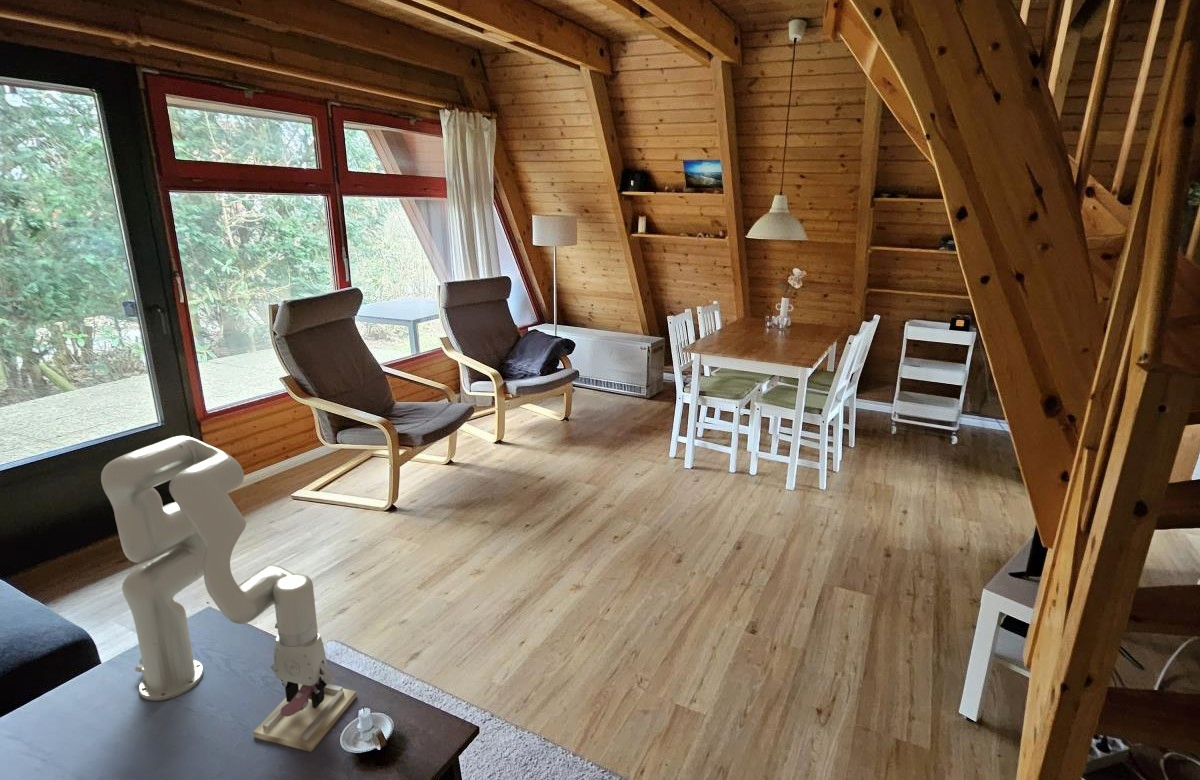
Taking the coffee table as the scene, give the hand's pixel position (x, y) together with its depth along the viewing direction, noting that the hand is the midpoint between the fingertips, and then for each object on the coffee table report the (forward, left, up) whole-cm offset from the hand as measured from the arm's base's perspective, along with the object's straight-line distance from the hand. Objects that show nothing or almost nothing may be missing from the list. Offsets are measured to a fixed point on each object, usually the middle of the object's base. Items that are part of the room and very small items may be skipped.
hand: (305, 699), depth 138 cm
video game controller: (0, 0, -1) cm, 1 cm away
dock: (0, 0, -4) cm, 4 cm away
